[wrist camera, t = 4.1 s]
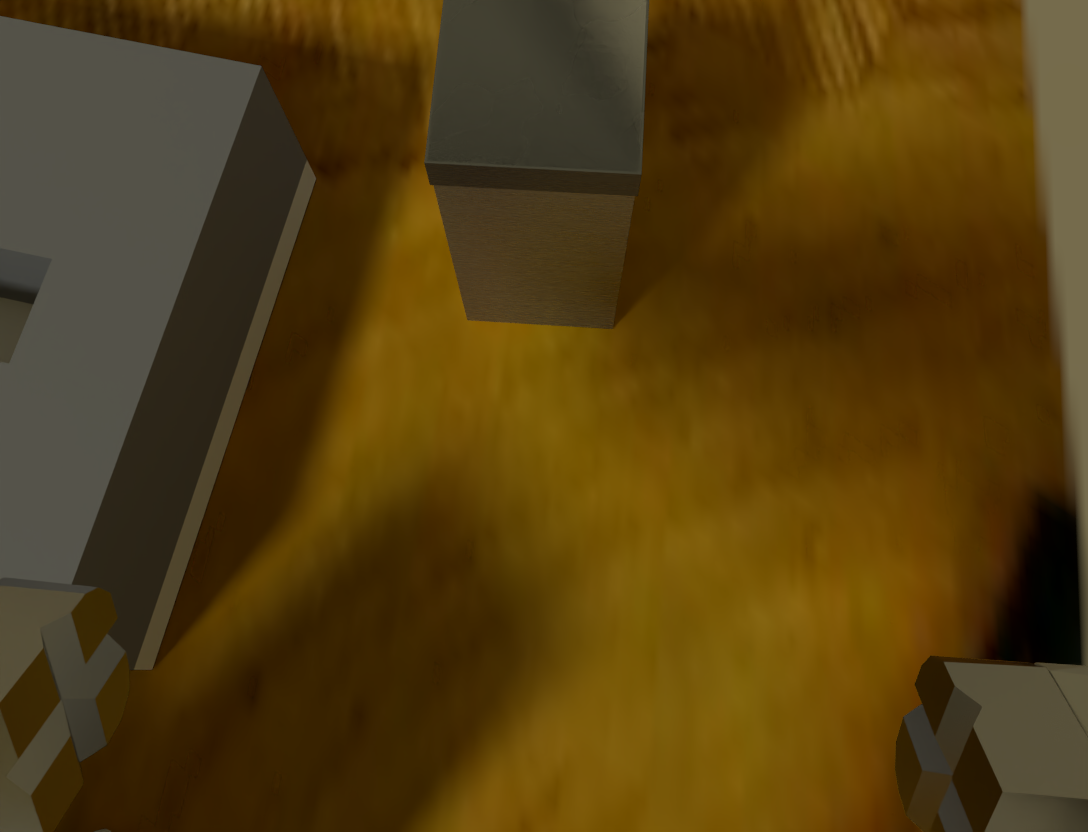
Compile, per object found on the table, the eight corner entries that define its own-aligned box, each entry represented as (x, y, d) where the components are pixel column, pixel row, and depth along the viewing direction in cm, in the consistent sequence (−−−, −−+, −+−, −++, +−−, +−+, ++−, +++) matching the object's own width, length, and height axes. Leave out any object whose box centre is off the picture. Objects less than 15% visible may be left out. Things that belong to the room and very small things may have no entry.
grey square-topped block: (614, 330, 24) (641, 174, 17) (465, 321, 25) (424, 163, 17) (621, 196, 26) (648, -7, 18) (478, 188, 26) (445, -17, 18)
